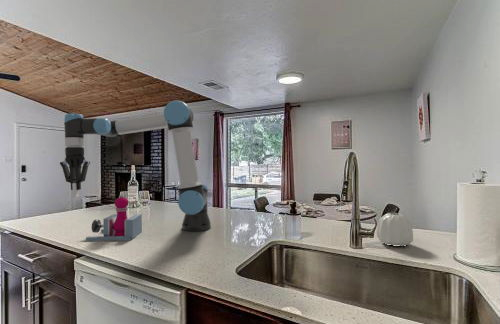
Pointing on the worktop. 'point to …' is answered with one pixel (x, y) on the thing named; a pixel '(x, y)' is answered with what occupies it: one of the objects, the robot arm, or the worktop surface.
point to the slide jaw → (105, 225)
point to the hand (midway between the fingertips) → (76, 196)
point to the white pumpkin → (395, 229)
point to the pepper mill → (120, 215)
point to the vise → (131, 230)
